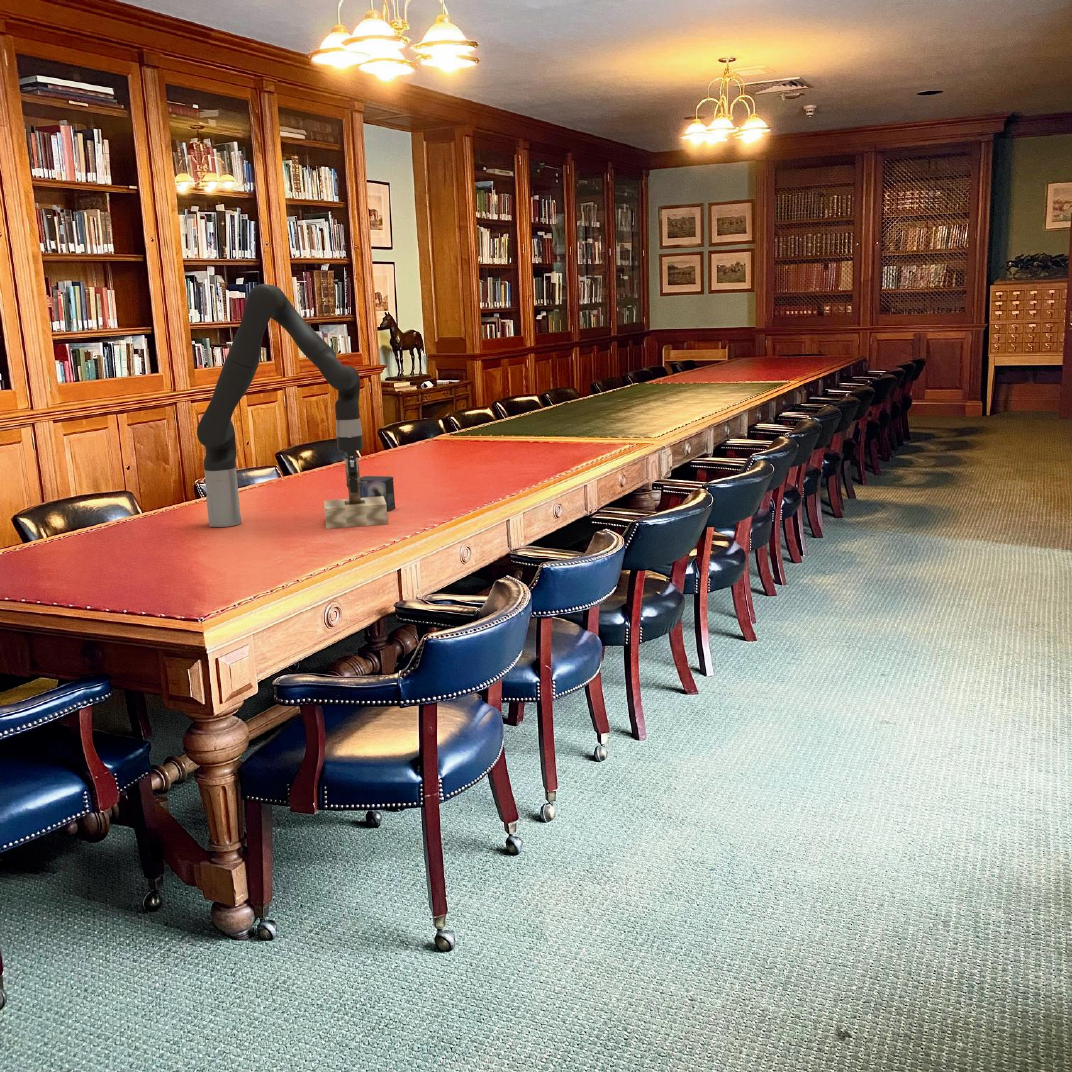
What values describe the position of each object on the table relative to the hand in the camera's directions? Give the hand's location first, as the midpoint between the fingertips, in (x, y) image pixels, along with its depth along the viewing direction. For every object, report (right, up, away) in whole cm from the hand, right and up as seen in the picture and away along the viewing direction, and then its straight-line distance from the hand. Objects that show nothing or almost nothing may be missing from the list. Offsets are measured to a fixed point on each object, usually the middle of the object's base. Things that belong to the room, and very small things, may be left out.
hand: (354, 490), depth 318 cm
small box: (+4, -5, +20) cm, 21 cm away
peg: (0, -4, +1) cm, 4 cm away
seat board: (0, -9, +2) cm, 9 cm away
